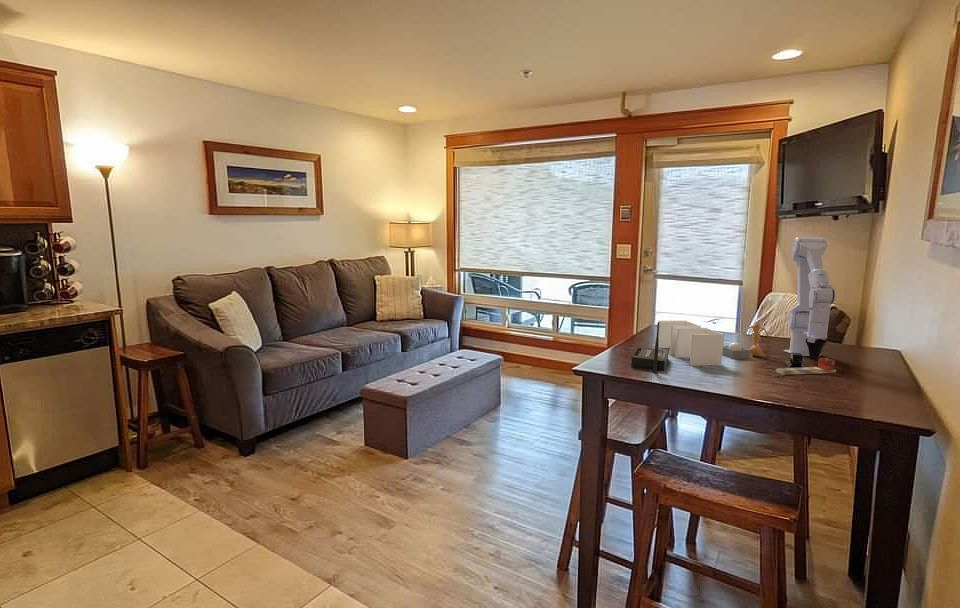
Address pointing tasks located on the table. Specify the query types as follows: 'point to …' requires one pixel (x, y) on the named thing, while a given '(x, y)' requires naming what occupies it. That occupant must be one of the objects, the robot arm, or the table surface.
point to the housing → (736, 353)
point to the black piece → (795, 361)
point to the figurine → (755, 348)
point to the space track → (811, 368)
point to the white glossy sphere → (735, 346)
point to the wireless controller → (650, 357)
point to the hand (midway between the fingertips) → (813, 359)
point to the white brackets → (691, 342)
